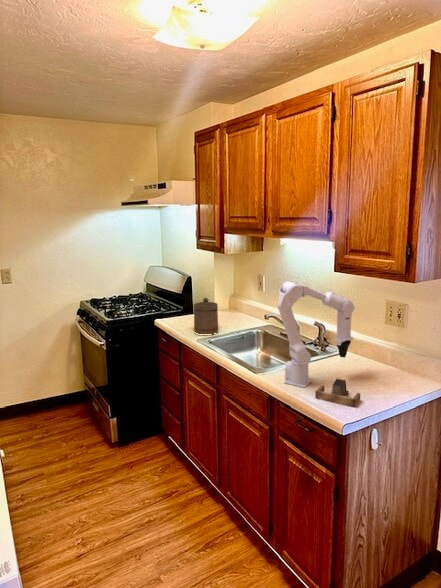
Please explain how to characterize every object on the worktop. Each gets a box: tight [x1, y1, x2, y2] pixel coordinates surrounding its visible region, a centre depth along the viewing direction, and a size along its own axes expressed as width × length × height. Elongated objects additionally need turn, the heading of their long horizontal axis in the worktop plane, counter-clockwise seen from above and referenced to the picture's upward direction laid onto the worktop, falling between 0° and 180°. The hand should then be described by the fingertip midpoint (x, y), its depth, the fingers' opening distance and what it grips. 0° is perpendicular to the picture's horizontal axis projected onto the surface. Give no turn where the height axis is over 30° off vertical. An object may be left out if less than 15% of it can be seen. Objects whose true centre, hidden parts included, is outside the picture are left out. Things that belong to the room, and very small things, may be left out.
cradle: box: [314, 384, 361, 408], centre depth 159 cm, size 15×7×3 cm, turn 56°
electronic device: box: [331, 377, 349, 397], centre depth 161 cm, size 4×10×8 cm, turn 147°
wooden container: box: [193, 297, 219, 334], centre depth 252 cm, size 15×15×22 cm
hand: (342, 356), depth 178 cm, fingers closed
